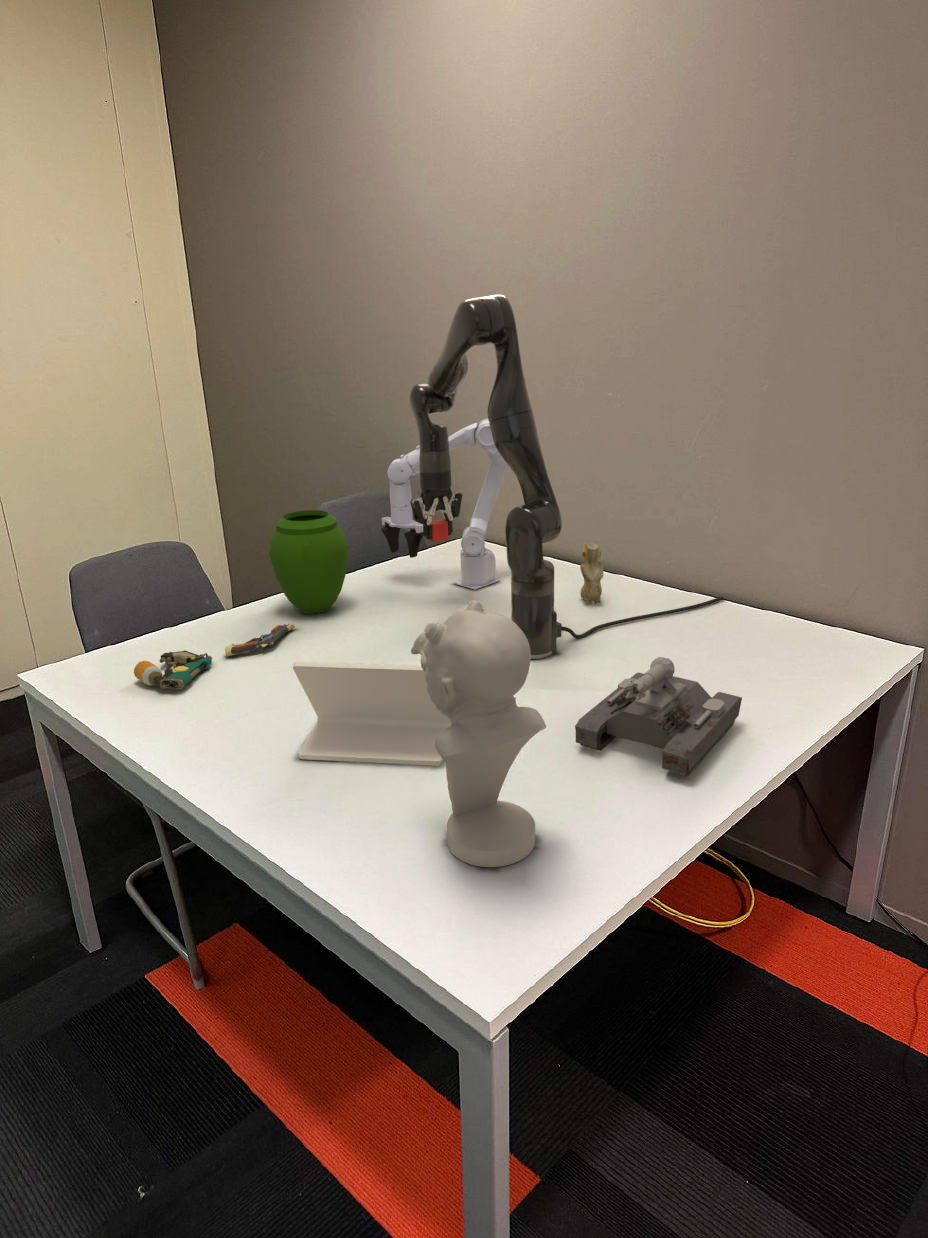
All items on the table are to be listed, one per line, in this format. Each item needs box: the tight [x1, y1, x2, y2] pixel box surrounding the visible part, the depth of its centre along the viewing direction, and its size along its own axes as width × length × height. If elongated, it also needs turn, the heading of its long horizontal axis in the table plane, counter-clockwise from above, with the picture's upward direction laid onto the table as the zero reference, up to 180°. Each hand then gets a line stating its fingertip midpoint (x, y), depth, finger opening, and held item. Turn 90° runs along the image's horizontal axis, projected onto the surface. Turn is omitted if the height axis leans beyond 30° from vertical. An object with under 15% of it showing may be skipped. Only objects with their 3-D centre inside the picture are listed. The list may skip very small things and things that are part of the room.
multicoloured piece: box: [133, 650, 213, 690], centre depth 180 cm, size 4×17×15 cm
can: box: [429, 519, 449, 543], centre depth 211 cm, size 5×5×4 cm
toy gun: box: [224, 623, 296, 657], centre depth 196 cm, size 3×19×10 cm
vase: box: [268, 509, 349, 615], centre depth 213 cm, size 20×20×24 cm
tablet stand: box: [292, 661, 451, 766], centre depth 150 cm, size 18×25×17 cm
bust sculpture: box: [410, 599, 547, 868], centre depth 121 cm, size 16×24×35 cm
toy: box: [574, 656, 743, 777], centre depth 148 cm, size 25×20×15 cm
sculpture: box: [579, 542, 604, 605], centre depth 214 cm, size 6×7×15 cm
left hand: (403, 554), depth 231 cm, fingers open, 7 cm apart
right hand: (438, 536), depth 211 cm, fingers closed on can, 5 cm apart
